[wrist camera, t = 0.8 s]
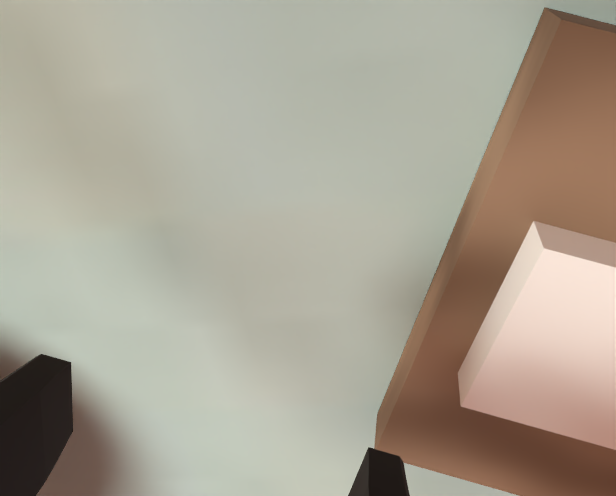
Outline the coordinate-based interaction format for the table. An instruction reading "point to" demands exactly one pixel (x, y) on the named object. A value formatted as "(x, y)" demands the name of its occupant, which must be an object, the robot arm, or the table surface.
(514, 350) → the tile
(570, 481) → the deck
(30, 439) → the robot arm
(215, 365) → the table surface
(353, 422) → the table surface
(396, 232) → the table surface
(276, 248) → the table surface
